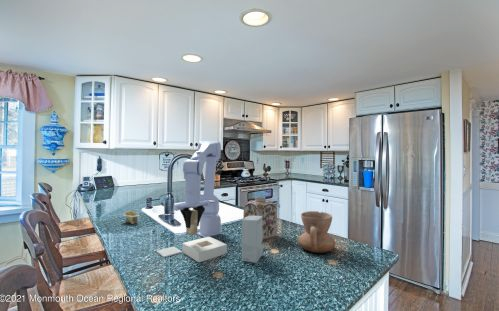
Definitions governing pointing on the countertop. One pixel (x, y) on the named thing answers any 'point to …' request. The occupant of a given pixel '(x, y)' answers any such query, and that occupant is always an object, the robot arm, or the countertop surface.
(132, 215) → the gold pronged connector
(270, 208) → the decorative jar
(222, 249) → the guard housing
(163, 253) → the mat
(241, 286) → the countertop surface
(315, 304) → the countertop surface
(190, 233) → the wooden square post
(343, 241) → the countertop surface
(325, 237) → the ceramic jug
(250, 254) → the skincare box
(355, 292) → the countertop surface
